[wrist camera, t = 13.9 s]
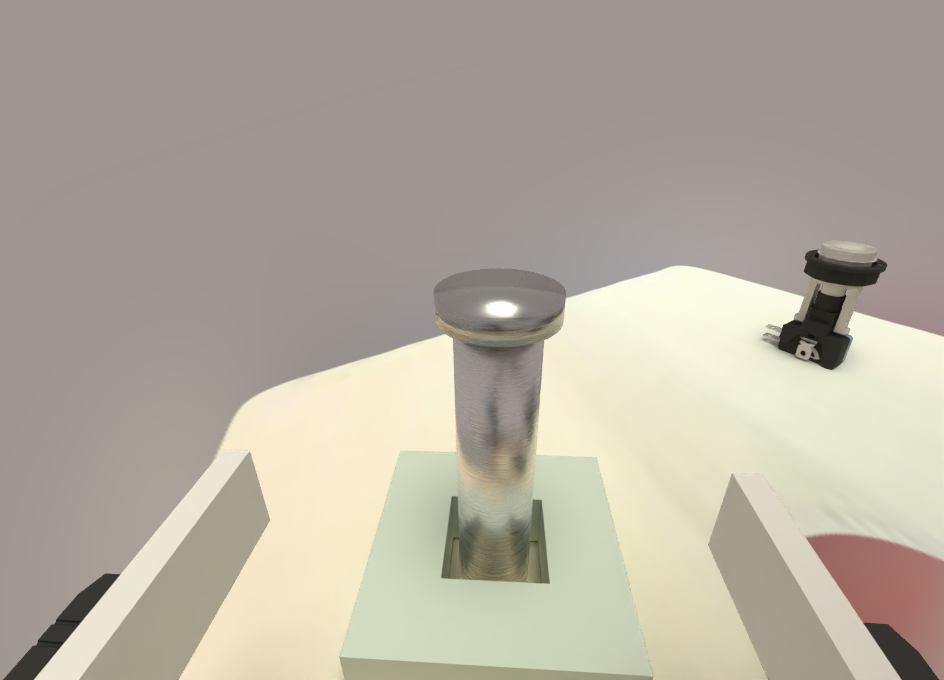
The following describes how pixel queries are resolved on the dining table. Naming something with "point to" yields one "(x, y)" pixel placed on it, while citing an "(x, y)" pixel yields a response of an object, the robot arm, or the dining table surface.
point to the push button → (829, 302)
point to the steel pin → (497, 408)
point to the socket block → (495, 587)
